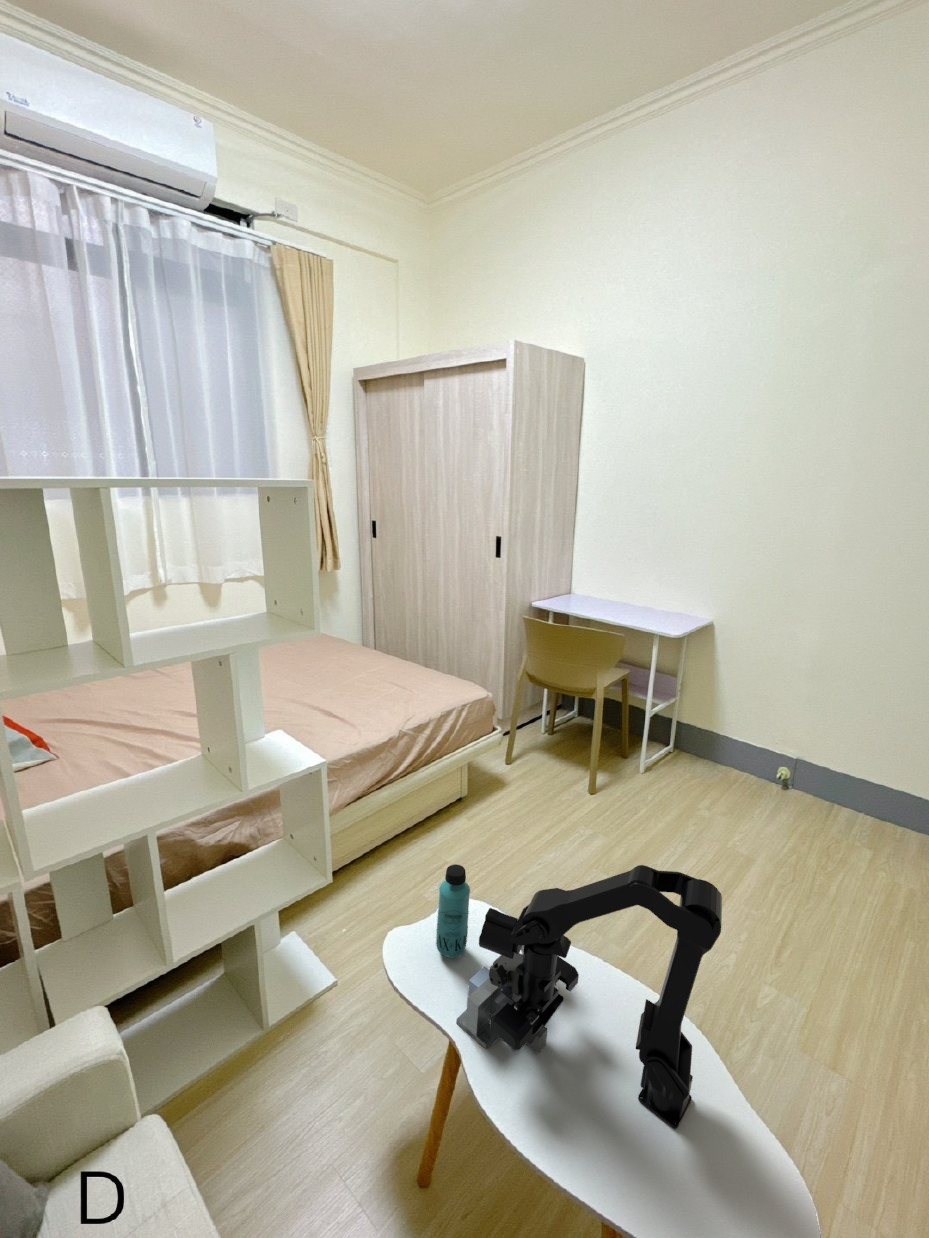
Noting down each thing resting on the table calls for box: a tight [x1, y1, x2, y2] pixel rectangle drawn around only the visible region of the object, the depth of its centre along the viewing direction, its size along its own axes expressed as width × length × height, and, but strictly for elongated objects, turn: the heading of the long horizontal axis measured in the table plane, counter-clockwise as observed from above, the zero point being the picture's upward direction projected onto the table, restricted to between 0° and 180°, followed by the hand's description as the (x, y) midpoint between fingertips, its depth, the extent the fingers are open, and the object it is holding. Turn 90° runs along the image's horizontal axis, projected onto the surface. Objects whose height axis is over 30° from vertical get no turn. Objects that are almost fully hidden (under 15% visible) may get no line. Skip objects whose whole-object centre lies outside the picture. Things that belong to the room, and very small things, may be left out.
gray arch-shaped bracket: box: [455, 978, 521, 1050], centre depth 107 cm, size 7×14×8 cm, turn 138°
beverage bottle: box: [435, 863, 471, 958], centre depth 118 cm, size 6×7×20 cm
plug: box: [467, 966, 549, 1054], centre depth 105 cm, size 16×4×5 cm, turn 48°
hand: (532, 1036), depth 102 cm, fingers closed on plug, 2 cm apart
